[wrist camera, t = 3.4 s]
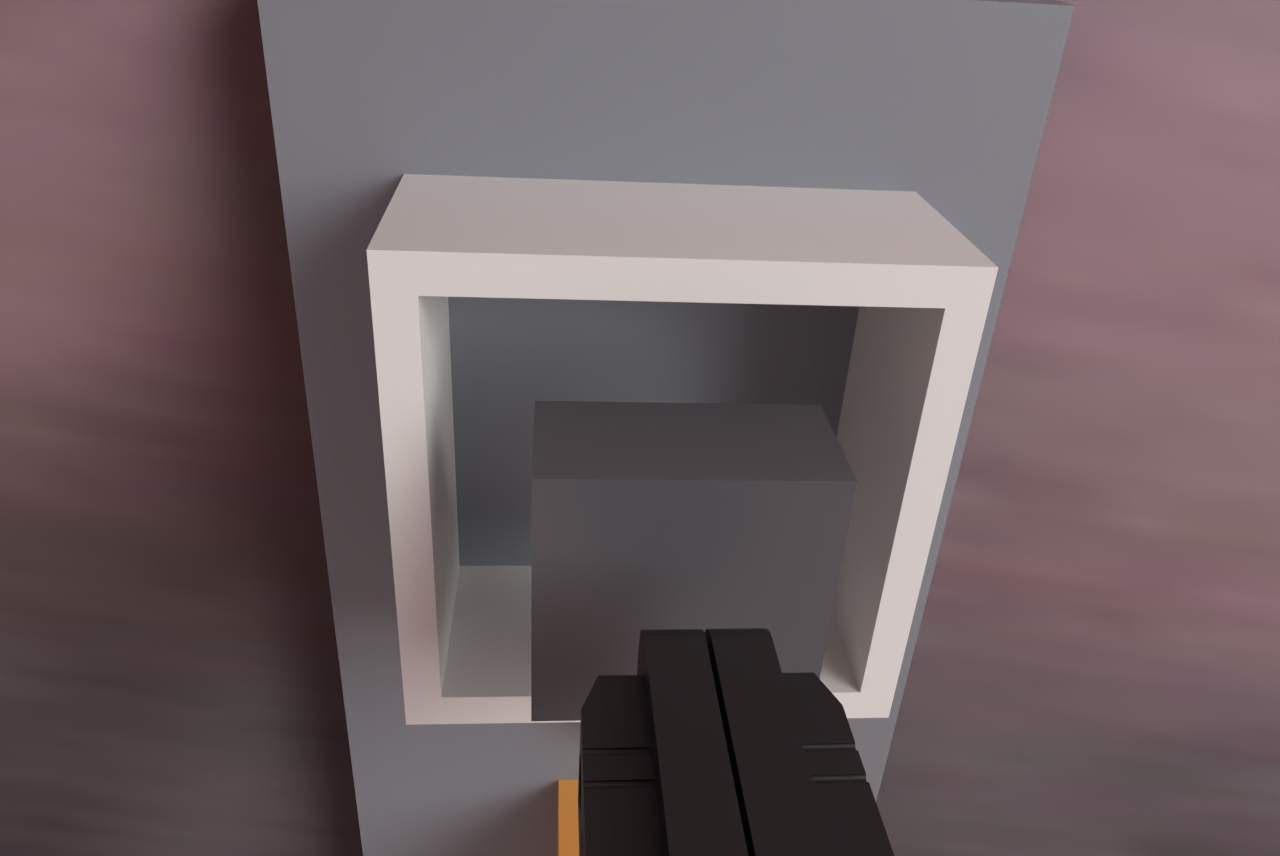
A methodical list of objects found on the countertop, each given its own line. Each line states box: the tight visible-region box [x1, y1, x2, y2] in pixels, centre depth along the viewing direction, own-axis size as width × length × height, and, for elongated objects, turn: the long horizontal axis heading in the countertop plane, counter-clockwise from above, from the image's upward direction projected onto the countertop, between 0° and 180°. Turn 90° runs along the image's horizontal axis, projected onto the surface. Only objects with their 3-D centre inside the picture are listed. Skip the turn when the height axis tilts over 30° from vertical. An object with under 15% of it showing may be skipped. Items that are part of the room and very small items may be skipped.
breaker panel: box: [257, 0, 1075, 856], centre depth 20 cm, size 12×24×6 cm, turn 177°
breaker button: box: [531, 401, 858, 721], centre depth 14 cm, size 4×4×2 cm
